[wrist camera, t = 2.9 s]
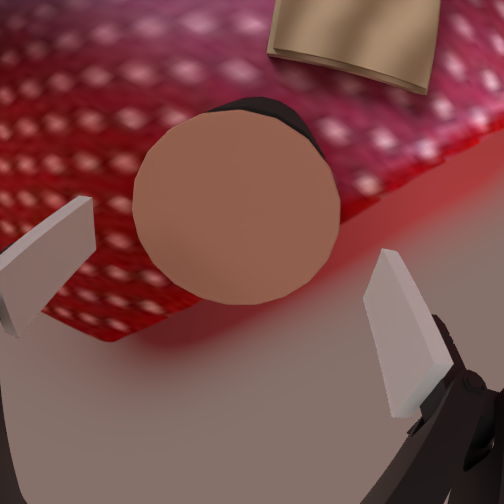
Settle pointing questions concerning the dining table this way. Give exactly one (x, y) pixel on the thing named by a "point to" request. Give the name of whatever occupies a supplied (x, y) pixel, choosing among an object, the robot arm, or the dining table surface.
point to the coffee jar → (238, 203)
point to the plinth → (360, 37)
